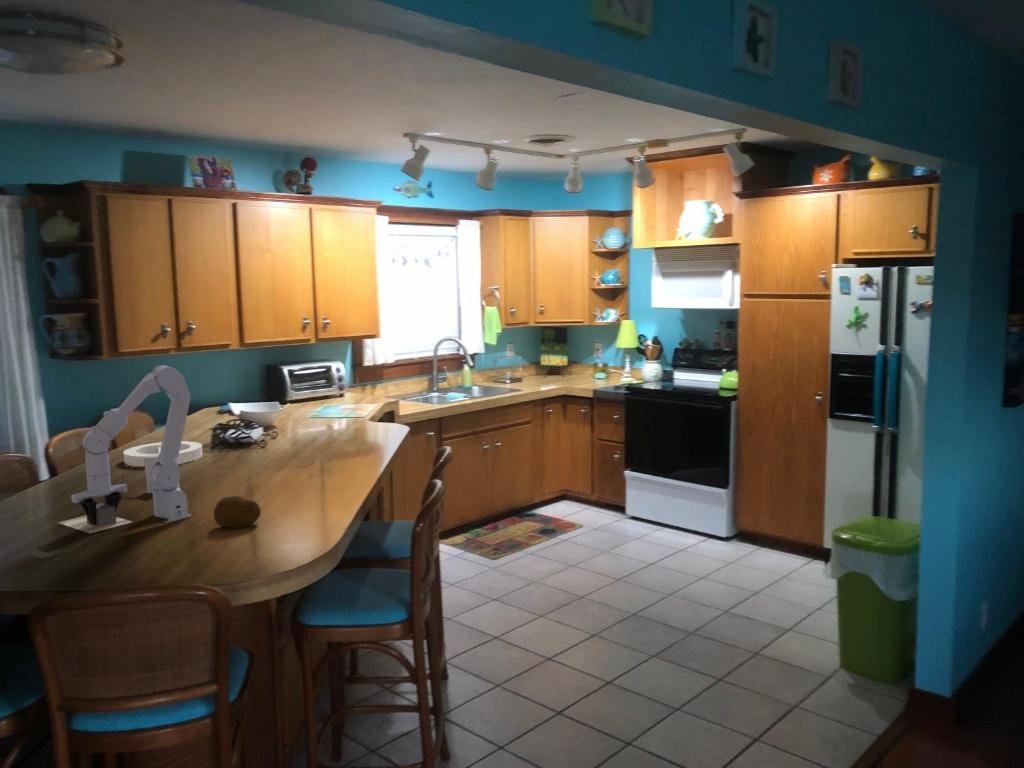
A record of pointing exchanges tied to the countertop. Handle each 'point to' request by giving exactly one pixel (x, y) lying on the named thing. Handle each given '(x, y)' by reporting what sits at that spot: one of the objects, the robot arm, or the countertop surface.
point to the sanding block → (104, 515)
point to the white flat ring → (138, 453)
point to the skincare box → (149, 463)
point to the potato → (236, 512)
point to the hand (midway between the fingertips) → (102, 522)
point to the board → (82, 525)
